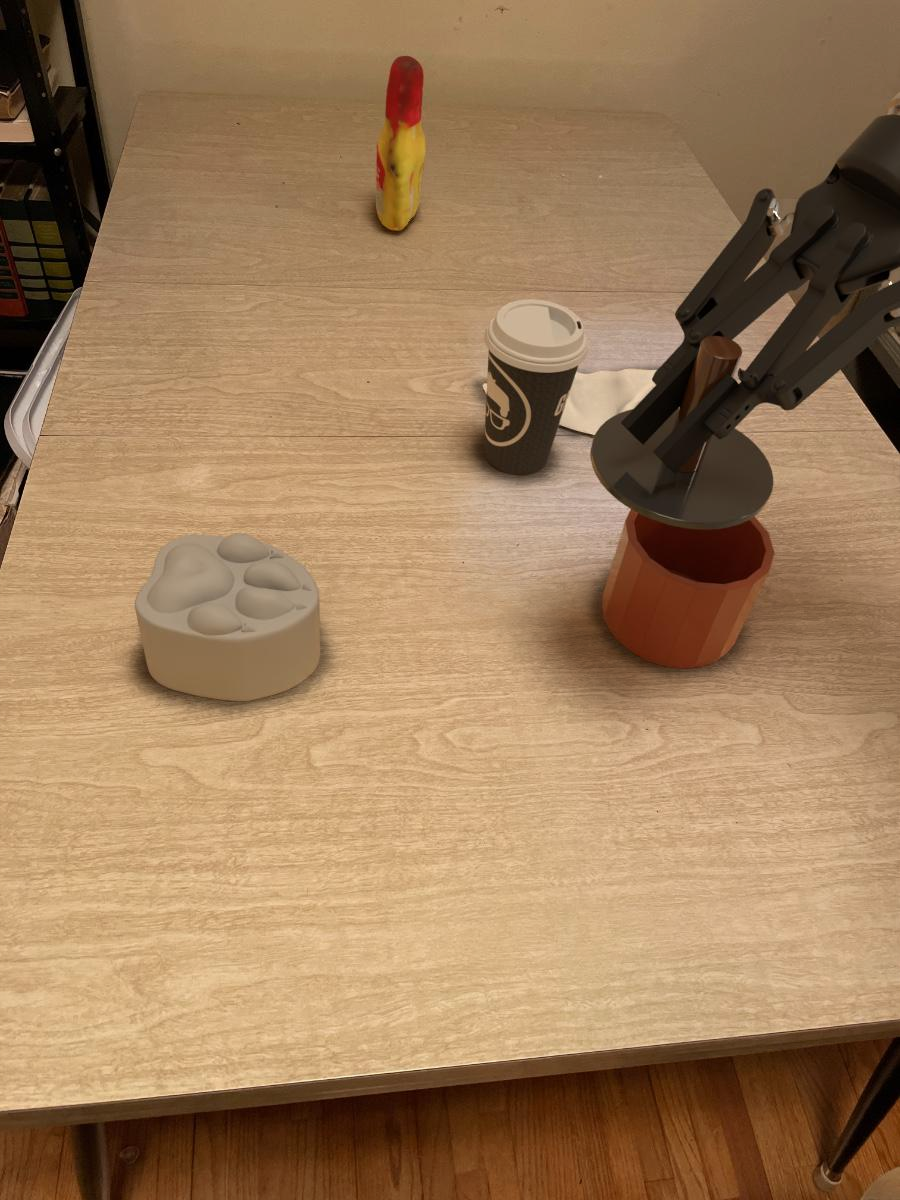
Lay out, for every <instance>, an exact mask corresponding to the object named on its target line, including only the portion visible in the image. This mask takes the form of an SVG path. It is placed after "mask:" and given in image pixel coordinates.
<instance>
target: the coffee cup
mask: <svg viewBox="0 0 900 1200" xmlns="http://www.w3.org/2000/svg"><path fill="white" fill-rule="evenodd" d="M483 340H484V343H485V346H486V347H487V349H488V352H487V353H488V356H487V357H488V358H487V378H486V383H487V395H486V397H485V399H486V400H485V420H484V437H483V438H484V439H483V455H484V457H485V460H486V461H487V462H488V463H489V464H490V465H491V466H492V467H494V468H495V469H497V470H498V471H501V472H503V473H506V474H510V475H515V476H523V475H525V476H526V475H531V474H534V473H537V472H539V471H541V470H542V469H543V468H544V467H545V466H546V465H547V462H548V459H549V456H550V453H551V450H552V448H553V444H554V441H555V438H556V435H557V432H558V430H559V429H558V428H559V426H560V425H559V423H560V420H561V417H562V414H563V411H564V408H565V405H566V401H567V398H568V395H569V392H570V389H571V386H572V383H573V380H574V377H575V374H576V372H578V368H579V366H580V365H581V364H582V363H583V362H584V361H585V360H586V358H587V356H588V354H589V343H588V338H587V334H586V332H585V330H584V324H583V321H582V320H581V318H580V317H579V316H578V315H577V314H576V313H575V312H574V311H572V310H571V309H569V308H567V307H565V306H563V305H561V304H558V303H556V302H553V301H549V300H542V299H535V298H534V299H518V300H514V301H511V302H509V303H506V304H505V305H503V306H502V307H501V308H499V310H498V311H497V313H496V315H494V316H493V317H492V319H490V322H489V323H488V325H487V327H486V329H485V332H484V336H483Z"/></svg>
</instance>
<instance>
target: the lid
mask: <svg viewBox="0 0 900 1200" xmlns="http://www.w3.org/2000/svg"><path fill="white" fill-rule="evenodd" d="M742 355H743V349H742V347H741V346H740V344H739V343H738V342H736V341H735V340H734V339H733V340H731V339H728V338H725V337H721V336H710V337H706V338H704V339H703V340H702V341H701V344H700V347H699V350H698V353H697V356H696V359H695V362H694V365H693V368H692V371H691V375H690V378H689V381H688V384H687V387H686V390H685V393H684V396H683V399H682V402H681V405H680V407H679V408H678V409H677V410H676V411H675V412H674V413H673V414H672V415H671V416H670V417H669V418H668V419H667V420H666V421H665V422H664V424H663V425H662V426H661V427H660V428H659V429H658V430H657V431H656V432H655V433H654V434H653V435H652V436H651V437H650V438H649V439H648V440H647V441H646V442H645V444H644V445H643V444H642V443H640V442H639V441H638V440H637V439H636V438H635V437H634V436H633V435H632V434H631V433H630V432H629V431H628V430H627V429H626V428H625V427H624V426H623V425H622V424H621V422H622V421H623V420H624V419H625V418H626V417H627V416H628V414H629V413H630V412H631V411H632V410H633V409H631V410H627V411H624V412H622V413H619V414H617V415H615V416H613V417H611V418H610V419H608V420H607V421H606V422H605V423H604V424H603V425H601V426H600V428H599V429H598V431H597V432H596V434H595V435H593V438H592V441H591V447H590V463H591V467H592V469H593V472H594V474H595V476H596V478H597V479H598V481H599V483H600V484H601V485H602V486H603V488H604V489H605V490H606V491H607V492H608V493H609V494H610V495H611V496H612V497H613V498H614V499H615V500H617V501H618V502H619V503H621V504H622V505H623V506H625V507H627V508H628V509H630V510H631V509H632V510H633V511H635V512H637V513H639V514H641V515H643V516H645V517H648V518H650V519H653V520H655V521H658V522H661V523H665V524H668V525H672V526H677V527H682V528H689V529H704V530H709V529H721V528H727V527H732V526H735V525H739V524H741V523H743V522H746V521H748V520H750V519H751V518H753V517H754V516H755V517H756V516H757V515H758V514H759V513H761V511H763V510H764V508H765V507H766V505H767V504H768V502H769V499H770V498H771V495H772V493H773V489H774V474H773V469H772V467H771V464H770V462H769V460H768V459H767V457H766V455H765V454H764V452H763V451H762V449H761V448H760V447H759V446H758V445H757V444H756V443H755V442H754V441H753V440H751V438H749V437H748V435H745V434H744V433H743V432H742V431H740V430H739V429H738V428H736V427H735V428H734V429H733V430H732V431H731V432H730V433H729V435H728V436H726V437H724V438H722V439H718V438H717V437H716V436H715V435H714V434H713V435H712V436H711V437H710V438H709V439H708V440H707V441H706V442H705V443H704V444H703V445H702V446H701V447H700V449H699V450H698V451H697V452H696V453H695V454H694V455H693V456H692V457H691V458H690V459H689V460H688V461H687V462H686V463H685V464H684V465H683V466H682V467H681V468H680V469H679V470H678V471H677V472H676V473H674V472H673V471H672V470H670V469H669V468H668V467H667V466H666V465H665V464H664V463H663V462H662V461H661V460H660V459H659V458H658V457H657V456H656V455H655V454H654V452H653V451H654V450H655V449H656V448H657V447H658V446H659V445H660V444H661V443H662V442H663V441H664V440H665V439H666V438H667V436H668V435H669V434H670V433H671V432H672V431H673V430H674V429H675V428H676V427H677V426H678V425H679V424H680V423H681V422H682V421H683V420H684V419H685V418H686V417H687V416H688V414H689V413H690V412H691V411H692V410H693V409H694V408H695V407H696V406H697V405H698V404H699V403H700V402H701V401H702V400H703V399H704V398H705V397H706V396H707V395H708V393H709V392H710V391H711V390H712V389H713V388H714V387H715V386H716V385H717V384H718V383H719V382H720V381H721V380H722V379H723V378H724V377H725V376H726V375H727V374H729V375H730V376H731V377H733V378H735V374H736V372H737V369H738V367H739V364H740V361H741V358H742Z"/></svg>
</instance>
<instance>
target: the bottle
mask: <svg viewBox="0 0 900 1200" xmlns="http://www.w3.org/2000/svg"><path fill="white" fill-rule="evenodd" d="M389 69H390V70H389V75H388V80H387V86H386V96H385V112H384V115H385V116H384V117H385V119H384V120H385V121H384V125H383V127H382V129H381V131H380V134H379V137H378V139H377V143H376V161H375V163H376V165H375V166H376V167H375V171H376V173H375V209H376V214H377V218H378V219H379V221H380V223H381V225H383V226H384V227H385V228H386V229H388V230H391V231H396V232H398V231H399V232H400V231H402V230H404V228H405V227H406V226H408V224H409V223H410V222H409V221H411V220H412V219H413V218H414V217H415V215H416V214H417V210H418V208H417V207H419V205H420V198H421V190H422V182H423V175H424V167H425V160H426V152H427V151H426V150H427V147H426V146H427V145H426V144H427V143H426V136H425V133H424V131H423V129H422V112H423V111H422V106H423V95H424V92H423V91H424V89H423V88H424V79H425V75H424V69H423V67H422V65H421V63H420V62H419V61H418V60H417V59H416V58H414V57H412V56H410V55H401V56H398V57H396V58H395V59H394V61H393V62H392V63H391V66H390V68H389ZM412 217H413V218H412ZM411 218H412V219H411ZM410 219H411V220H410ZM381 221H382V222H381ZM408 222H409V223H408ZM406 223H407V224H406ZM402 227H403V228H402ZM395 228H398V229H395Z"/></svg>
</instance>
